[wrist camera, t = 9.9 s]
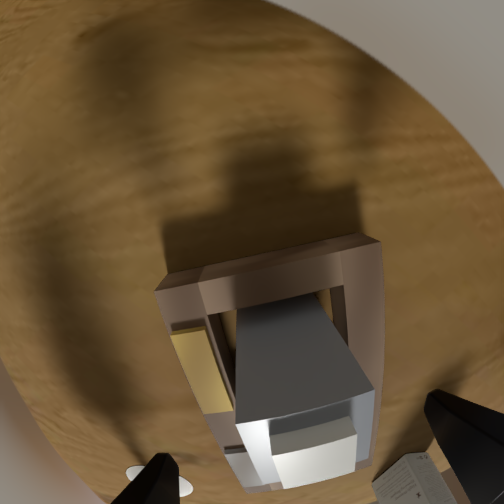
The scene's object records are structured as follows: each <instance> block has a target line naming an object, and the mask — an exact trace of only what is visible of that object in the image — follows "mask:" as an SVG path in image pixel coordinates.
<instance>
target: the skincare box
mask: <svg viewBox="0 0 504 504" xmlns="http://www.w3.org/2000/svg"><path fill="white" fill-rule="evenodd" d="M372 488H373V490H374V492H375V495H376V497H377V500H378V502H379V504H457V502H456V500H455V499H454V497H453V495H452V493H451V492H450V490H449V488H448V486H447V485H446V483H445V481H444V479H443V478H442V476H441V474H440V472H439V471H438V469H437V467H436V466H435V464H434V462H433V461H432V459H431V458H430V456H429V454H428V453H427V452H418V453H409V454H405V455H404V456H403V457H402V458H401V459H399V460H398V461H397V462H396V463H395V464H394V465H393V466H391V467H390V468H389V469H388V470H387V471H386V472H384V473H383V474H382V475H381V476H380V477H379V478H377V479H376V480H375V481H374V482H373V483H372Z"/></svg>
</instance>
